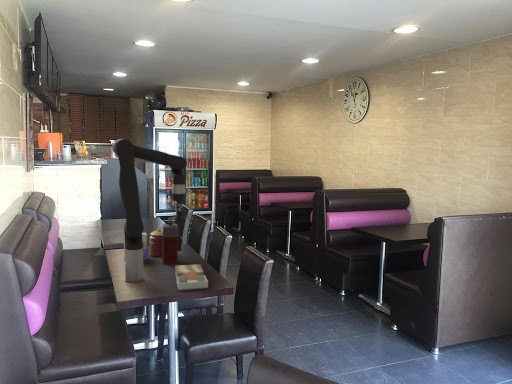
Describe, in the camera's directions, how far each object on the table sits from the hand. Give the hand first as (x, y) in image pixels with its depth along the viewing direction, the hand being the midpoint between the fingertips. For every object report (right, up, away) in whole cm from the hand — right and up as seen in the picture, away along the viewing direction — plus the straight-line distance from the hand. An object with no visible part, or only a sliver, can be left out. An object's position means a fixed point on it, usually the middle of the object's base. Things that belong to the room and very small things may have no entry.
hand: (178, 222), depth 228 cm
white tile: (+11, -29, -21) cm, 37 cm away
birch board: (+7, -30, -5) cm, 31 cm away
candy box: (-33, -26, +27) cm, 50 cm away
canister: (-21, -24, +41) cm, 52 cm away
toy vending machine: (-9, -27, +24) cm, 37 cm away
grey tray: (+10, -31, -18) cm, 38 cm away
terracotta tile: (+10, -29, -15) cm, 34 cm away
